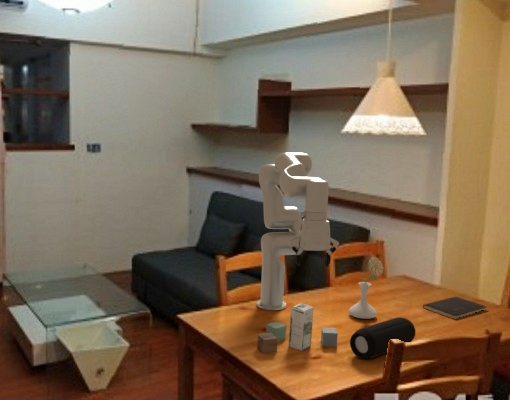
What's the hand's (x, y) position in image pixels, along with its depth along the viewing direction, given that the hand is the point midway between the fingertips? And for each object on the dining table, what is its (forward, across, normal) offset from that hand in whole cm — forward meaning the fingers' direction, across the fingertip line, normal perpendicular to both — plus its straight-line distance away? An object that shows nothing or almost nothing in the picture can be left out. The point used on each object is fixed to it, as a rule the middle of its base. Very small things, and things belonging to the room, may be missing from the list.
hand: (312, 265), depth 181 cm
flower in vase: (+29, +30, +28) cm, 50 cm away
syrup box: (+29, -3, -1) cm, 29 cm away
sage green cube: (+29, -10, +7) cm, 31 cm away
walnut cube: (+29, -15, -3) cm, 33 cm away
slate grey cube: (+29, +8, +2) cm, 30 cm away
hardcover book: (+29, +74, +36) cm, 87 cm away
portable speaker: (+29, +25, -5) cm, 39 cm away
